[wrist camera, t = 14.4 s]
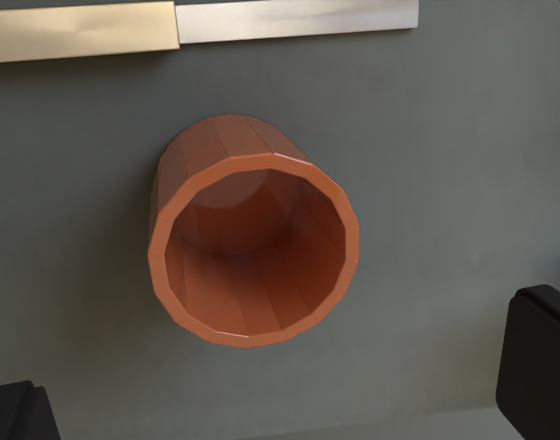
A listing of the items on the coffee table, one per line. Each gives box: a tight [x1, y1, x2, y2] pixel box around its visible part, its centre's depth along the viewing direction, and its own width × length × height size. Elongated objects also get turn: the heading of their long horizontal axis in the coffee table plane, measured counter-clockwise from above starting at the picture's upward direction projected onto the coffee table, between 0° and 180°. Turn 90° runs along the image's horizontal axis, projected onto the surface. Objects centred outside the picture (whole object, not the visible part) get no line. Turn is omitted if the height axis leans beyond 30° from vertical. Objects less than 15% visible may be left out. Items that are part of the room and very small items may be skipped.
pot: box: [147, 114, 359, 348], centre depth 19 cm, size 7×7×7 cm
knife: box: [0, 0, 419, 63], centre depth 19 cm, size 17×2×1 cm, turn 93°
